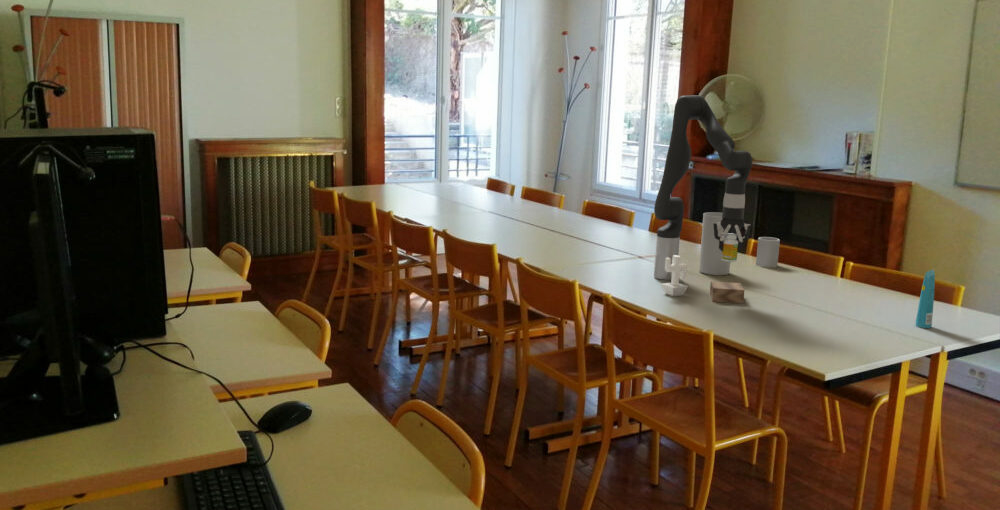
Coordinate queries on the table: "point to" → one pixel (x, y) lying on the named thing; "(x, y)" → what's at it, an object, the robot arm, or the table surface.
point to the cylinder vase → (712, 247)
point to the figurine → (675, 276)
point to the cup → (767, 252)
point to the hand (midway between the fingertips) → (729, 251)
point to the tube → (926, 301)
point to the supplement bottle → (730, 248)
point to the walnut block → (727, 292)
